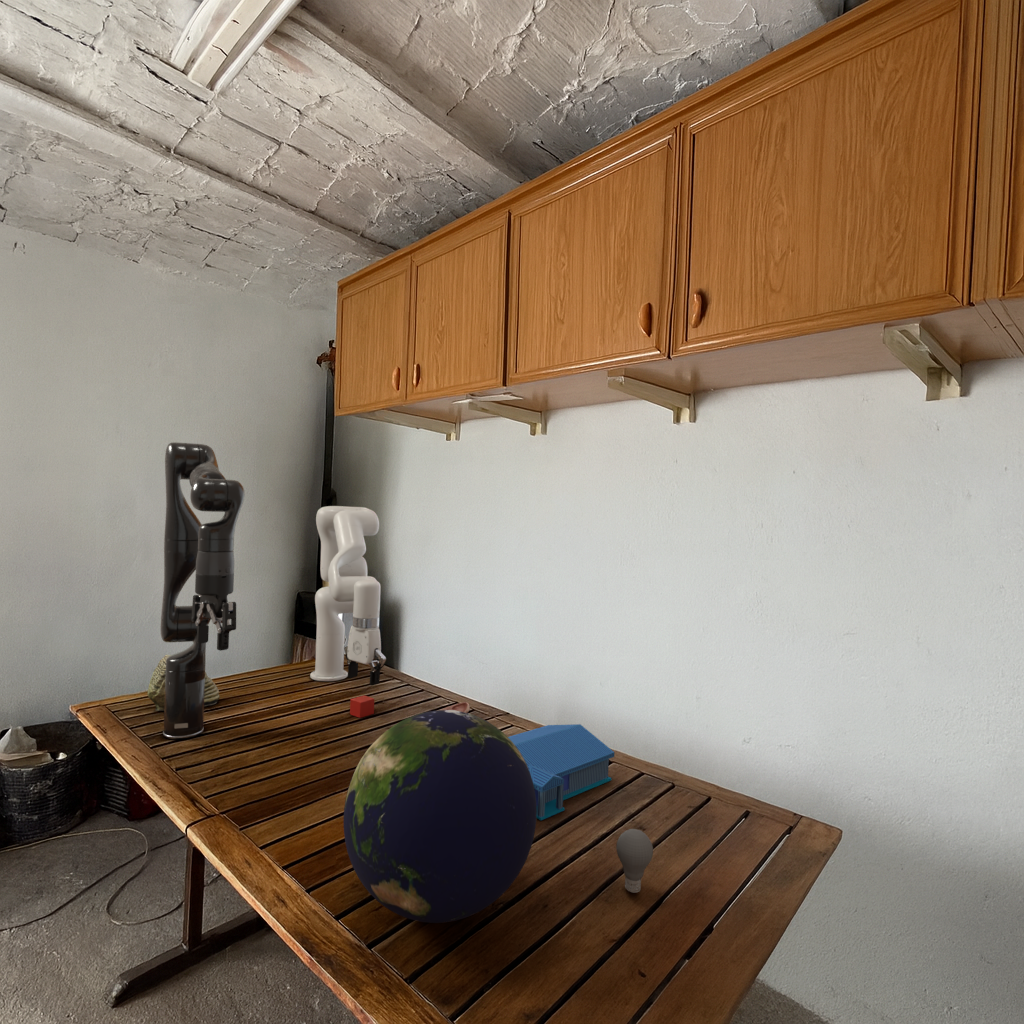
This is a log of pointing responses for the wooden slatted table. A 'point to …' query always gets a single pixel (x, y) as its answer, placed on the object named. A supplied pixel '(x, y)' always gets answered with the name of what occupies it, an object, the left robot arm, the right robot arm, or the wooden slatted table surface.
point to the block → (362, 706)
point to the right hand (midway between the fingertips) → (363, 680)
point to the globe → (440, 816)
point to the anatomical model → (459, 707)
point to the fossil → (158, 687)
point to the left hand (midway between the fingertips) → (212, 646)
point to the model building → (562, 763)
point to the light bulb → (634, 857)
